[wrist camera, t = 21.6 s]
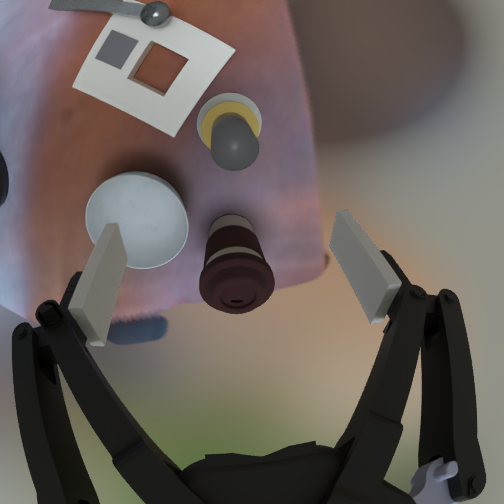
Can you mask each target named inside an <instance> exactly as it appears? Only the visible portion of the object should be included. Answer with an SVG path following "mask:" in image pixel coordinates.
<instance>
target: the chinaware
mask: <svg viewBox="0 0 504 504" xmlns="http://www.w3.org/2000/svg"><path fill="white" fill-rule="evenodd" d="M85 220H86V227H87V230H88V233H89V236H90V238H91V240H92V241H93V243H94V244H95V245H96V243H97V241H98V239H99V237H100V235H101V233H102V231H103V229H104V227H105V225H106V224H109V223H118V226H119V229H120V233H121V237H122V240H123V244H124V247H125V250H126V254H127V257H128V261H127V265H126V267H130V268H136V269H148V268H154V267H158V266H161V265H164V264H166V263H168V262H169V261H171V260H172V259H174V258H175V257H176V256H177V255H178V254H179V253H180V251H181V250H182V248H183V247H184V245H185V243H186V240H187V237H188V230H189V223H188V216H187V212H186V209H185V206H184V204H183V201H182V199H181V198H180V196H179V194H178V193H177V192H176V190H175V189H174V188H173V187H172V186H171V185H170V184H169V183H168V182H166V181H165V180H163V179H162V178H160V177H158V176H156V175H153V174H150V173H146V172H138V171H134V172H126V173H122V174H118V175H116V176H114V177H111V178H110V179H108V180H106V181H105V182H103V183H102V184H101V185H99V186H98V187H97V188H96V190H95V191H94V192H93V193H92V195H91V197H90V199H89V201H88V203H87V207H86V213H85Z"/></svg>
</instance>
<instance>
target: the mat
mask: <svg viewBox="0 0 504 504" xmlns="http://www.w3.org/2000/svg"><path fill="white" fill-rule="evenodd" d="M228 101H234V102H239V103H242V104H244V105H246V106H247V107H249V108H250V109H251V110H252V111H253V113H254V114H255V115H256V117H257V119H258V122H259V134H260V131H261V127H262V118H261V114H260V111H259V109H258V107H257V106H256V105H255V103H254V102H253V101H252V100H250V99H249V98H247V97H246V96H244V95H241V94H238V93H222V94H219V95H216V96H214V97H212V98H211V99H209V100H208V101H207V102H206V103H205V104H204V105H203V106H202V108H201V110H200V112H199V114H198V118H197V131H198V134H199V136H200V138H201V140H202V141H203V138H202V134H201V126H202V122H203V119H204V117H205V115H206V113H207V112H208V111H209V110H210V109H211V108H212V107H214V106H215V105H217V104H219V103H222V102H228ZM258 136H259V135H258ZM203 142H204V141H203ZM204 144H205V143H204ZM205 145H206V144H205Z"/></svg>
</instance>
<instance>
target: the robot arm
mask: <svg viewBox="0 0 504 504" xmlns="http://www.w3.org/2000/svg"><path fill="white" fill-rule="evenodd" d="M7 192H8V174H7V169H6V165H5V162H4V159H3V157H2V155H1V153H0V206H1V205H2V204H3V203H4V201H5V199H6V196H7ZM330 248H331V250H332V252H333V253H334V255H335V257H336V259H337V260H338V262H339V264H340V266H341V268H342V270H343V271H344V273H345V275H346V277H347V279H348V281H349V282H350V284H351V286H352V288H353V290H354V292H355V294H356V296H357V298H358V300H359V302H360V304H361V306H362V308H363V310H364V312H365V314H366V316H367V318H368V320H369V322H370V324H372V323H377V322H382V321H383V320H384V318H385V316H386V314H387V315H388V316H389V318H390V320H389V322H388V323H387V325H386V327H385V329H384V331H383V333H384V336H383V340H382V342H381V345H380V349H379V351H378V354H377V357H376V360H375V363H374V365H373V368H372V371H371V373H370V376H369V378H368V381H367V383H366V386H365V388H364V391H363V393H362V396H361V398H360V400H359V402H358V405H357V407H356V409H355V411H354V413H353V416H352V418H351V420H350V422H349V424H348V426H347V428H346V430H345V432H344V433H343V435H342V436H341V438H340V439H339V441H338V442H337V444H336V446H335V447H334V448H332V447H328V446H322V445H316V442H315V441H312V442H307V443H302V444H297V445H292V446H288V447H286V448H283V449H281V450H279V451H276V452H273V453H271V454H268V455H266V456H261V457H260V456H251V455H242V454H235V453H227V454H207V455H205V459H203V460H199V461H197V462H194V463H193V464H191V465H189V466H188V467H186V468H185V469H184V470H183V471H182V470H181V469H180V468H179V467H178V466H177V465H176V464H175V463H174V462H173V461H172V460H171V459H170V458H168V456H167V455H165V454H164V453H163V452H162V451H161V449H160V448H159V447H158V446H157V445H156V444H155V443H154V442H153V440H152V439H151V438H150V437H149V436H148V435H147V433H146V432H145V431H144V430H143V428H142V427H141V426H140V425H139V424H138V422H137V421H136V420H135V419H134V417H133V416H132V415H131V413H130V412H129V411H128V410H127V408H126V407H125V406H124V404H123V403H122V401H121V400H120V399H119V397H118V396H117V394H116V393H115V392H114V390H113V389H112V387H111V386H110V384H109V383H108V381H107V380H106V378H105V377H104V375H103V374H102V372H101V370H100V369H99V367H98V366H97V364H96V362H95V361H94V359H93V357H92V356H91V354H90V353H89V351H88V349H87V347H86V346H85V344H86V340H88V341H89V343H90V344H91V346H105V343H106V338H107V334H108V330H109V325H110V321H111V317H112V313H113V310H114V306H115V302H116V298H117V295H118V291H119V288H120V284H121V281H122V278H123V274H124V271H125V268H126V265H127V261H128V257H127V254H126V250H125V247H124V244H123V240H122V237H121V233H120V229H119V226H118V223H109V224H106V225H105V227H104V229H103V231H102V233H101V235H100V237H99V239H98V241H97V243H96V245H95V247H94V249H93V251H92V253H91V255H90V257H89V259H88V262H87V264H86V266H85V268H84V270H83V271H82V272H76V273H75V275H74V276H73V277H72V278H71V279H70V282H69V284H68V287H67V288H66V291H65V293H64V295H63V298H62V300H61V302H60V305H59V304H58V303H57V302H56V301H55V300H47V301H45V302H43V303H42V304H41V305H40V306H39V307H38V308H37V310H36V313H35V315H36V319H37V320H38V322H39V323H40V324H41V326H39V327H36V328H32V326H31V325H30V324H29V323H27V322H24V323H21V324H19V325H18V326H17V327H16V328H15V329H14V331H13V335H12V368H13V383H14V393H15V402H16V410H17V416H18V423H19V428H20V434H21V439H22V443H23V448H24V452H25V456H26V459H27V463H28V467H29V470H30V474H31V477H32V480H33V483H34V486H35V489H36V492H37V502H38V504H100V503H99V499H98V496H97V494H96V491H95V489H94V486H93V484H92V481H91V479H90V477H89V474H88V472H87V470H86V467H85V465H84V462H83V459H82V457H81V454H80V451H79V448H78V446H77V443H76V440H75V436H74V433H73V430H72V427H71V424H70V420H69V416H68V412H67V409H66V405H65V401H64V396H63V392H62V388H61V383H60V378H59V372H58V367H57V364H58V365H59V367H60V369H61V371H62V373H63V375H64V377H65V380H66V382H67V383H68V386H69V387H70V389H71V391H72V393H73V395H74V397H75V399H76V401H77V403H78V404H79V406H80V408H81V410H82V411H83V413H84V415H85V416H86V418H87V420H88V421H89V423H90V425H91V426H92V428H93V429H94V431H95V433H96V434H97V436H98V437H99V439H100V440H101V442H102V443H103V445H104V446H105V447H106V449H107V450H108V452H109V453H110V455H111V456H112V458H113V459H112V462H113V464H114V466H115V467H116V469H117V470H118V472H119V473H120V474H121V476H122V477H123V478H124V479H125V480H126V482H127V483H128V484H129V485H130V487H131V488H132V489H133V490H134V491H135V492H136V493H137V495H138V496H139V497H140V498H141V499H142V500H143V501H144V502H145V503H146V504H454V503H458V502H462V501H466V500H470V499H473V498H475V497H477V496H478V495H479V494H480V493H481V492H482V490H483V489H484V487H485V483H486V473H485V468H484V463H483V459H482V454H481V451H480V446H479V442H478V439H477V408H476V395H475V383H474V376H473V367H472V360H471V355H470V349H469V343H468V337H467V333H466V328H465V324H464V319H463V314H462V310H461V306H460V303H459V299H458V297H457V295H456V294H455V293H454V292H452V291H451V290H448V289H442V290H441V291H440V292H439V294H438V296H435V295H428V294H427V293H426V291H425V290H424V289H423V288H421V287H419V286H417V285H412V284H411V283H410V281H409V280H408V278H407V277H406V275H405V274H404V273H403V271H402V270H401V268H399V266H398V264H397V263H396V262H395V260H394V259H393V257H392V256H391V255H390V254H388V253H387V252H386V251H384V250H381V251H379V249H378V248H377V247H376V245H375V244H374V243H373V241H372V240H371V239H370V237H369V236H368V235H367V233H366V232H365V231H364V229H363V228H362V227H361V226H360V224H359V223H358V222H357V220H356V219H355V218H354V217H353V216H352V214H351V213H350V212H349V210H347V209H346V210H337V212H336V217H335V222H334V227H333V232H332V236H331V241H330ZM420 346H421V368H422V405H421V426H420V427H421V428H420V439H419V451H418V463H419V464H418V466H419V469H418V470H417V471H416V473H415V475H414V477H413V478H412V479H411V486H412V489H411V491H410V493H409V494H407V493H405V492H403V491H402V490H400V489H398V488H397V487H395V486H393V485H392V484H390V483H388V482H387V481H385V480H384V477H385V475H386V472H387V470H388V468H389V465H390V463H391V461H392V458H393V456H394V453H395V450H396V448H397V446H398V443H399V440H400V437H401V435H402V431H403V425H402V424H401V418H402V415H403V412H404V409H405V406H406V402H407V399H408V395H409V392H410V388H411V385H412V381H413V377H414V373H415V368H416V365H417V360H418V355H419V351H420Z"/></svg>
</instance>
